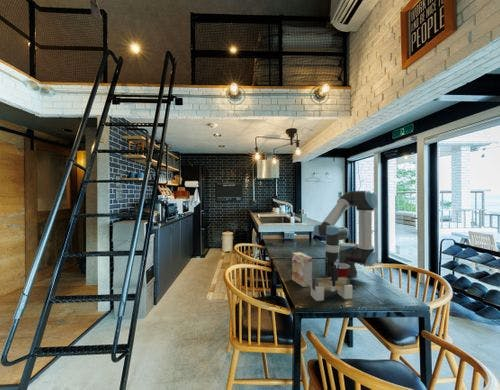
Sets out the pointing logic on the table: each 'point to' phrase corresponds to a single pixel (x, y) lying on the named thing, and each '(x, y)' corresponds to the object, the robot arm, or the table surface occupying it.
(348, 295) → the foot post
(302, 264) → the coffeecake box
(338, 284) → the rail
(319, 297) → the head post
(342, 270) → the plastic cup
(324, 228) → the robot arm
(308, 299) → the table surface
